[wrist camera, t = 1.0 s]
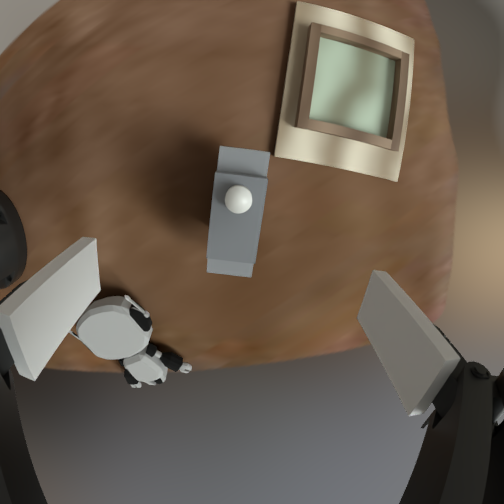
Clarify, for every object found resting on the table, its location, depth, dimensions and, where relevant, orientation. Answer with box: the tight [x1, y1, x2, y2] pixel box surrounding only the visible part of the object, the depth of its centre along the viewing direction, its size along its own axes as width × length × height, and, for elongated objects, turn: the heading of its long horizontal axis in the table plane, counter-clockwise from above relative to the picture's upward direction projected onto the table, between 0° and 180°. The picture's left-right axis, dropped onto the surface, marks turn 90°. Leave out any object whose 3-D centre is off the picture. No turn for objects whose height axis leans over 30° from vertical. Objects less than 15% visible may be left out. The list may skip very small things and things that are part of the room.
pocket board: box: [274, 1, 414, 182], centre depth 25 cm, size 14×18×2 cm
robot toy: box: [69, 295, 192, 388], centre depth 35 cm, size 12×4×15 cm
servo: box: [207, 146, 270, 277], centre depth 26 cm, size 4×11×9 cm, turn 172°
